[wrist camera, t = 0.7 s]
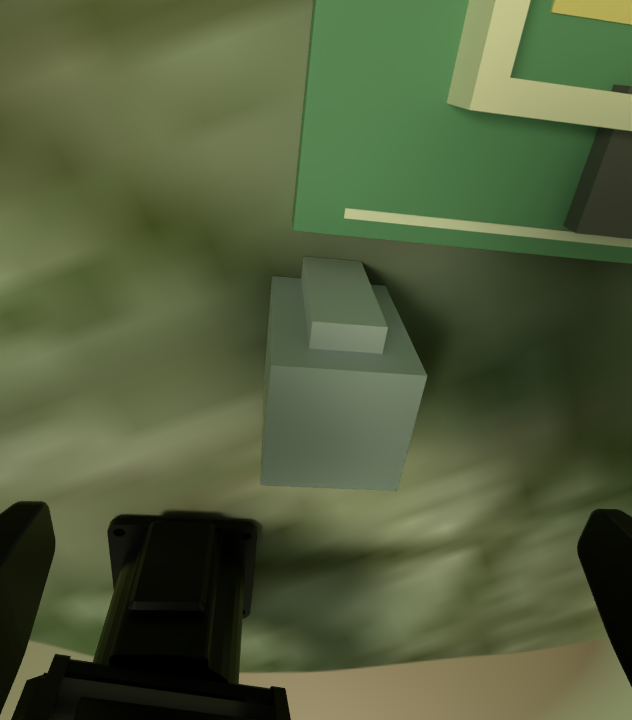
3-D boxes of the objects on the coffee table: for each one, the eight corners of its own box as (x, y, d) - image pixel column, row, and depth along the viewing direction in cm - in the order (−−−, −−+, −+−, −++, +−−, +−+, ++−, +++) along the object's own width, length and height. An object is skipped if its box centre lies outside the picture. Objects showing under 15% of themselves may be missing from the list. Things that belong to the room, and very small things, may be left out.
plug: (366, 380, 21) (397, 491, 15) (264, 373, 20) (260, 485, 15) (389, 264, 18) (434, 348, 13) (274, 253, 18) (273, 337, 13)
